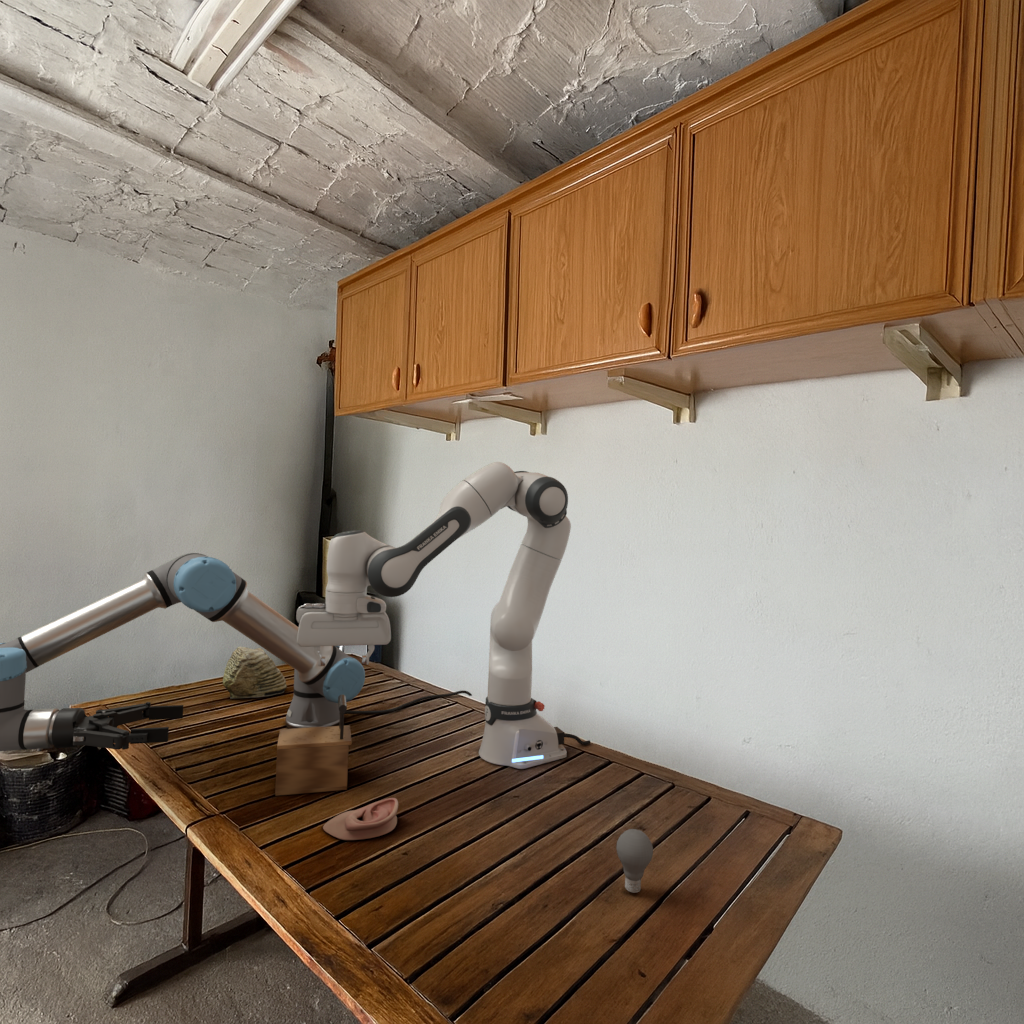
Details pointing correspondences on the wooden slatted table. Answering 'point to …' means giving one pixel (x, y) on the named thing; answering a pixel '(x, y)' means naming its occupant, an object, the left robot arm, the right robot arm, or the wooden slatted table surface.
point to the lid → (317, 733)
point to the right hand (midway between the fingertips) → (343, 664)
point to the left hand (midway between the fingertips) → (176, 722)
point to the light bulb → (634, 857)
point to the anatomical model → (364, 821)
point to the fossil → (252, 674)
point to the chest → (311, 769)
